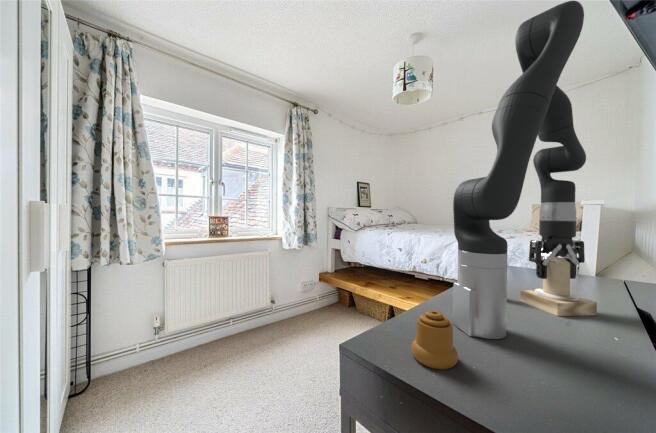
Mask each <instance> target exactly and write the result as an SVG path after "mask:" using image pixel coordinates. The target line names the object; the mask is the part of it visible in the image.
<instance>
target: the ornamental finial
mask: <svg viewBox="0 0 656 433" xmlns="http://www.w3.org/2000/svg"><path fill="white" fill-rule="evenodd" d="M453 325H454V324H453V322H451V321H450V319H449V318H448V317H447V316H445V315H444V314H443V313H442V312H440V311H439V310H434V309H433V310H431V309H430V310H427V311H426V312H425V313H421V314H420V316H418V317H417V318H416V330H415V331H416V333H415V339H414V340H413V341H412V343H411V352H412V356H413V357H414V358H415V359H416V361H417V362H419V363H420V364H421V365H423V366H425V367H428V368H431V369H435V370H448V369H452V368H453V367H455V366H456V364H457V363H458V361H459V354H458V351H457V349H456V347H455V346H454V333H453V331H454V327H453Z"/></svg>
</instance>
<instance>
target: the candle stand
mask: <svg viewBox="0 0 656 433" xmlns="http://www.w3.org/2000/svg"><path fill="white" fill-rule="evenodd" d="M519 299H520V302H522V303H524V304H526V305H528V306H532V307H533V308H536V309H538V310H541V311H543V312H546V313H548V314H552V315H554V316H557V317H567V316H568V317H570V316H573V317H574V316H575V317H577V316H578V317H579V316H597V314H598V313H597V312H598V302H596V301H592V300H591V299H590V300H589V299H586V298H584V297H580V296H579V295H577V294H576V293H573V292H570V295H569V296H559V295H553V294H548V293H545V292H544V291H543V287H542V288H539V287H538V288H535V289H533V290H532V289H530V290H529V289H527V290H525V289H524V290H523V289H522V290H520V298H519Z"/></svg>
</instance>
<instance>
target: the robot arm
mask: <svg viewBox="0 0 656 433" xmlns="http://www.w3.org/2000/svg"><path fill="white" fill-rule="evenodd" d="M584 10H585V9H584V7H583V5H582V4H581V3H580V2H579V1H578V0H568V1H565V2H563V3H560V4H558V5H556V6H554V7H551V8H549V9H547V10H545V11H543V12H541V13H539V14H537V15H535V16H532V17H531V18H529V19H527V20H525V21H523V22H522V23H521V24H520V25H519V26H518V28H517V31H516V34H515V38H514V39H515V42H514V43H515V52H516V55H517V59H518V62H519V65H520V68H521V72H522V74H521V75H520V76H518V78H517V79H516V80H515V81H514V82H513V83H512V84H511V85H510V86H508V88H507V89H506V90H505V92H504V94H503V95H502V97H501V99H500V101H499V103H498V106H497V107H496V110H495V113H494V115H493V119H492V122H491V130H492V136H493V138H494V142H495V145H496V149H497V152H496V155H495V159H494V162H493V165H492V166H491V169H490V171H489V172H488V174H487V176H484V177H478V178H472V179H468V180H464V181H462V182H461V183H460V184H458V186H457V187H456V189H455V192H454V195H453V201H452V202H453V203H452V208H453V209H452V211H453V212H452V213H453V231H454V236H455V240H456V242H457V281H455V282H454V283H453V285H452V286H453V288H452V289H453V292H452V293H453V294H452V295H453V296H452V297H453V298H452V301H453V302H452V303H453V304H452V324H453V325H454V326H455V327H456V328H458V329H460V330H461V331H462V332H463V333H465V334H466V335H468V337H477V338H481V339H482V338H483V339H487V340H500V339H504V338H505V337H506V336H507V312H508V311H507V306H508V305H507V304H508V303H507V301H508V300H507V299H508V298H507V296H508V295H507V294H508V292H507V290H508V241H507V239H505V238H504V237H503V236H500V235H499V234H497V233H496V232H494V231H493V229H492V228H491V224H490V221H501V220H505V219H507V218H509V217H510V216H511V215H512V214H513V213H514V212H515V210H516V208H517V207H518V205H519V202H520V198H521V195H522V192H523V191H522V190H523V186H524V183H525V179H526V174H527V172H528V171H527V170H528V167H529V162H530V159H531V155H532V153H533V150H534V148H535V144H536V141H537V137H538V139H539V141H541V142H543V143H544V142H545V143H558V144H561V145H560V146H553V147H546V148H541V149H539V150H537V151H536V153H535V154H534V157H533V160H532V162H533V163H532V164H533V167H534V169H535V173H536V174H537V177H538V181H539V185H540V208H539V221H538V223H539V224H538V226H539V227H538V230H539V231H538V232H539V233H538V235H540V236H541V239H540V240H536V239H530V241H529V249H528V250H529V252H528V253H529V254H528V260H529V262H532V263H535V265H536V266H535V269H536V271H535V274H536V277H537V278H538V279H542V280H543V279H547V266H546V264H547V263H548V262H549V260H550V259H553V257H559V258H563V259H565V260H566V261H568V262H569V263H570V280H571V279H572V280H575V279H576V277H577V269H578V268H577V266H579V264H580V263H582V264H584V263H585V260H586V258H585V255H586V254H585V242H584V241H583V240H574V239H573V238H575V237H576V236H577V206H576V184H575V182H573V181H572V180H564V179H563V180H562V179H555V178H553V177H552V176H551V174H556V173H557V174H558V173H565V172H574V171H578V170H580V169H582V168H583V166H584V165H585V164H586V160H587V153H586V151H585V150H584V147H583V146H582V144H581V142H580V141H579V139H578V136H577V134H576V133H577V132H576V131H575V126H574V116H573V107H572V106H573V105H572V102H571V99H570V98H569V96H568V95H567V93H566V92H564V91H563V90H562V89H561V88H560V87H559V85H558V82H559V80H560V77H561V74H562V72H563V70H564V68H565V67H566V65H567V63H568V61H569V58H570V56H571V54H572V52H573V51H574V48H575V47H576V45H577V43H578V40H579V38H580V36H581V34H582V33H581V32H582V31H583V30H582V29H583V27H584V26H583V25H584V19H585V12H584Z"/></svg>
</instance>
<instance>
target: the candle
mask: <svg viewBox="0 0 656 433" xmlns="http://www.w3.org/2000/svg"><path fill="white" fill-rule="evenodd" d="M546 266H547V279H542V288H543V291H544V292H545V293H548V294H553V295H559V296H569V295H570V293H571V279H570V263H569V262H568V261H566V260H565V259H563V258H562V257H560V256H558V257H553V259H550V260H549V262H548V263H547V264H546Z"/></svg>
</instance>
